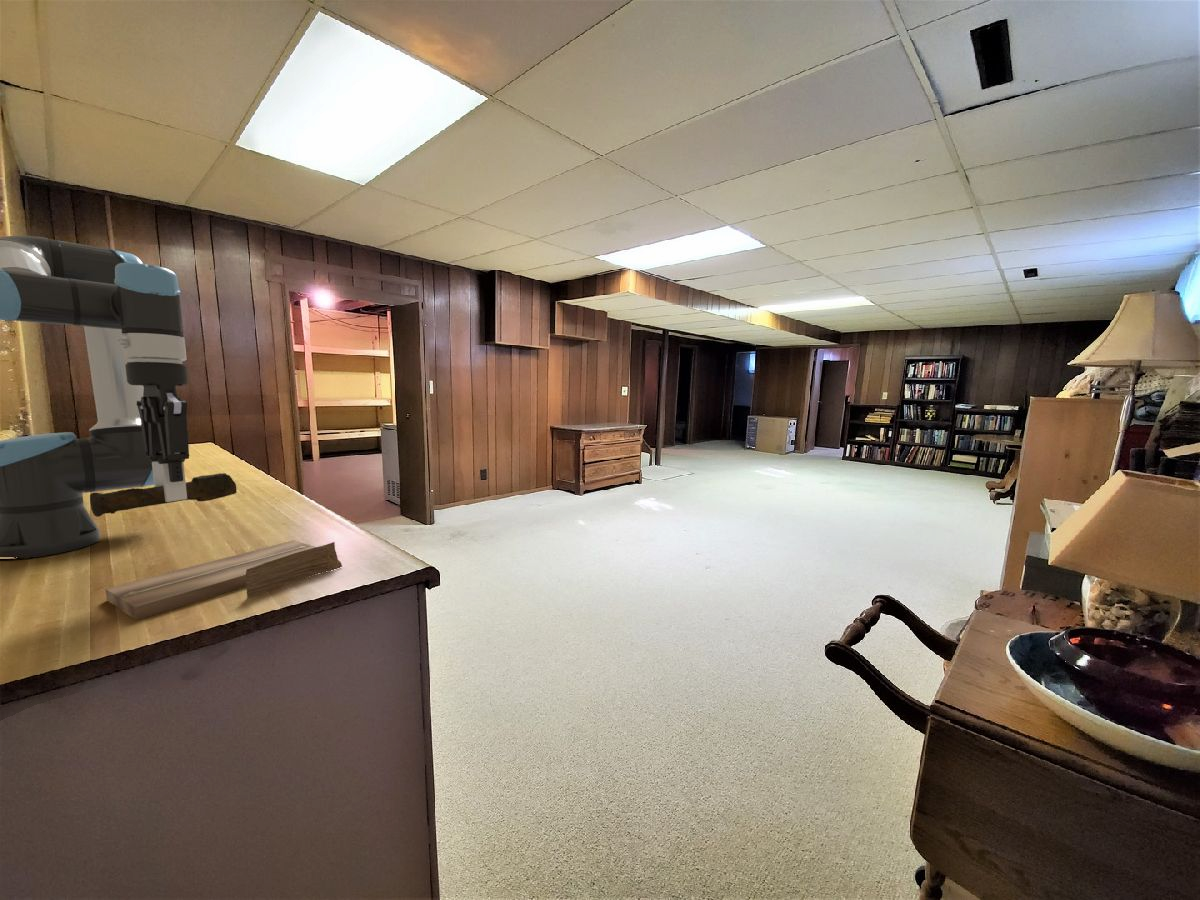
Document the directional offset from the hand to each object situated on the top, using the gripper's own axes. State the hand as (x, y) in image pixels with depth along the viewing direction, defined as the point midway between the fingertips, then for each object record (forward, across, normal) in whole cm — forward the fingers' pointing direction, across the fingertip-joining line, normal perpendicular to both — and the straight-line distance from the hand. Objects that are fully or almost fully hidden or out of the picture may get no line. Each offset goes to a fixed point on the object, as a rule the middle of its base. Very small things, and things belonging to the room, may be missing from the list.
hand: (171, 498), depth 80 cm
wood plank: (+15, +18, +10) cm, 26 cm away
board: (+15, +7, +4) cm, 17 cm away
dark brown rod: (+1, -1, 0) cm, 1 cm away
